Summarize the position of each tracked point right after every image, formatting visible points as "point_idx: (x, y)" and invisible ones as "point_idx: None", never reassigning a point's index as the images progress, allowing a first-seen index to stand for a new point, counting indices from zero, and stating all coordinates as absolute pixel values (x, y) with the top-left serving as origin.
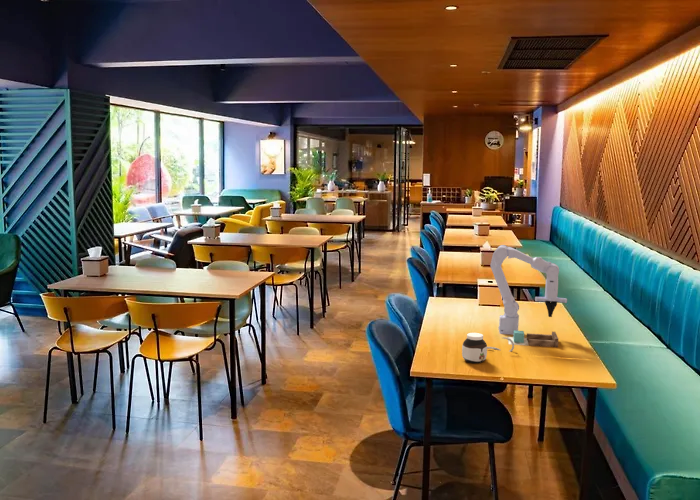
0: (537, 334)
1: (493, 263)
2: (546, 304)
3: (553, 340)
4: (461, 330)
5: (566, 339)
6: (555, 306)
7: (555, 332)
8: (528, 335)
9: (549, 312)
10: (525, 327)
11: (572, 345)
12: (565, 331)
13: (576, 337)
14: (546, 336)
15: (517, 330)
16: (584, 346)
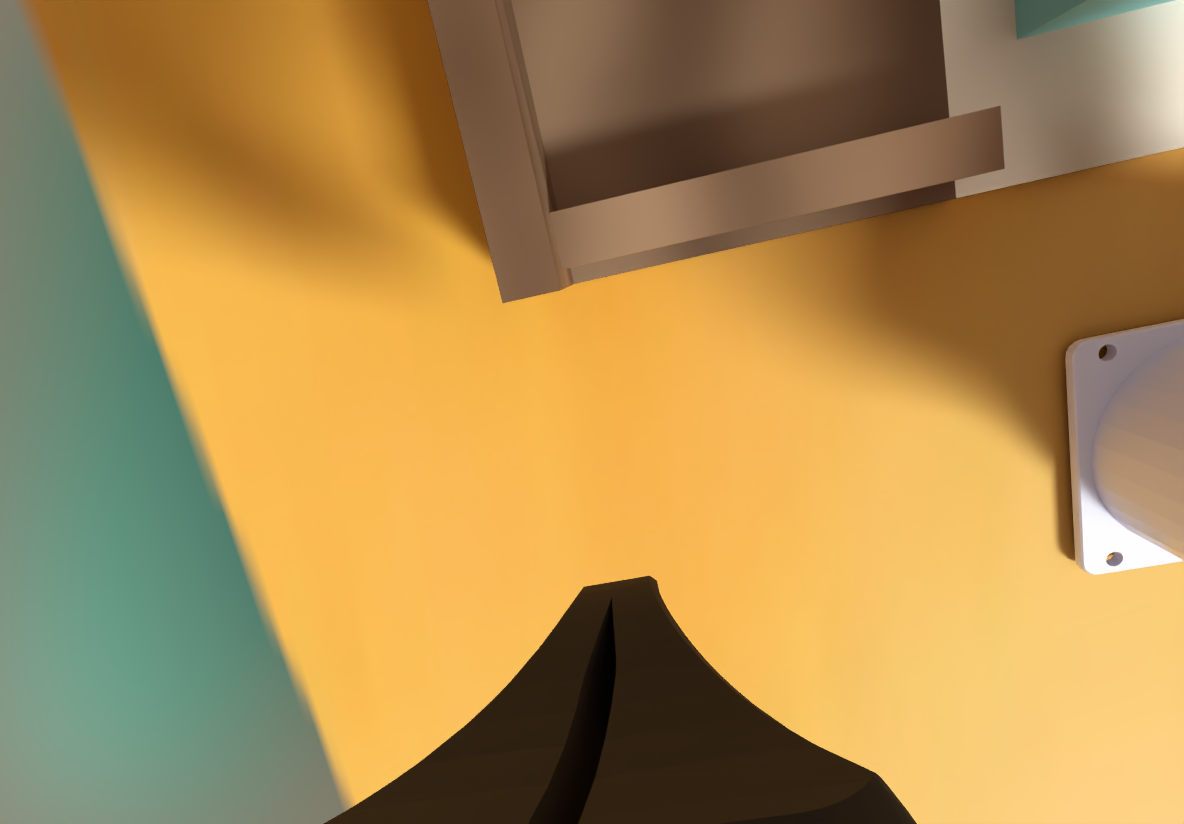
0: (806, 179)
1: None
2: (877, 797)
3: (508, 17)
4: None
5: (393, 445)
6: (356, 808)
7: (490, 248)
8: (961, 115)
9: (643, 625)
10: (964, 792)
11: (267, 172)
12: None
13: (296, 587)
14: (645, 193)
15: (1141, 422)
16: (115, 197)
